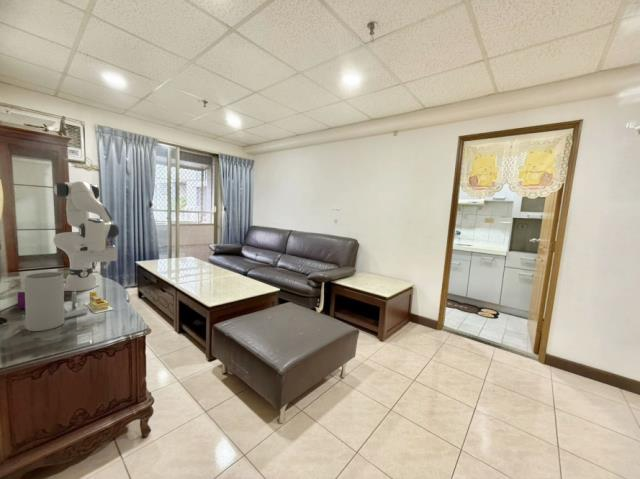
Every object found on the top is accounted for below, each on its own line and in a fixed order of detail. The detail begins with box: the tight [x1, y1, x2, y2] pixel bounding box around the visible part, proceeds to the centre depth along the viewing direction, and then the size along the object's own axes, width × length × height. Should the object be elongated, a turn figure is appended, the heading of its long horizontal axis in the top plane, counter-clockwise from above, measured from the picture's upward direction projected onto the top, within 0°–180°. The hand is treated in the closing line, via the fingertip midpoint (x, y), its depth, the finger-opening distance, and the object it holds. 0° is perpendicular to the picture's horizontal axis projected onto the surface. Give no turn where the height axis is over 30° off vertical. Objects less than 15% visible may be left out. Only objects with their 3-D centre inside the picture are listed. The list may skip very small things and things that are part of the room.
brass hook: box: [89, 290, 110, 310], centre depth 149 cm, size 16×6×6 cm, turn 56°
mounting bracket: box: [17, 291, 25, 311], centre depth 144 cm, size 9×8×18 cm
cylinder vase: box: [23, 271, 65, 332], centre depth 121 cm, size 12×12×25 cm
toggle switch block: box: [64, 291, 89, 319], centre depth 139 cm, size 18×9×12 cm, turn 56°
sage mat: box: [83, 299, 114, 315], centre depth 148 cm, size 20×8×1 cm, turn 56°
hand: (95, 269), depth 149 cm, fingers open, 8 cm apart
